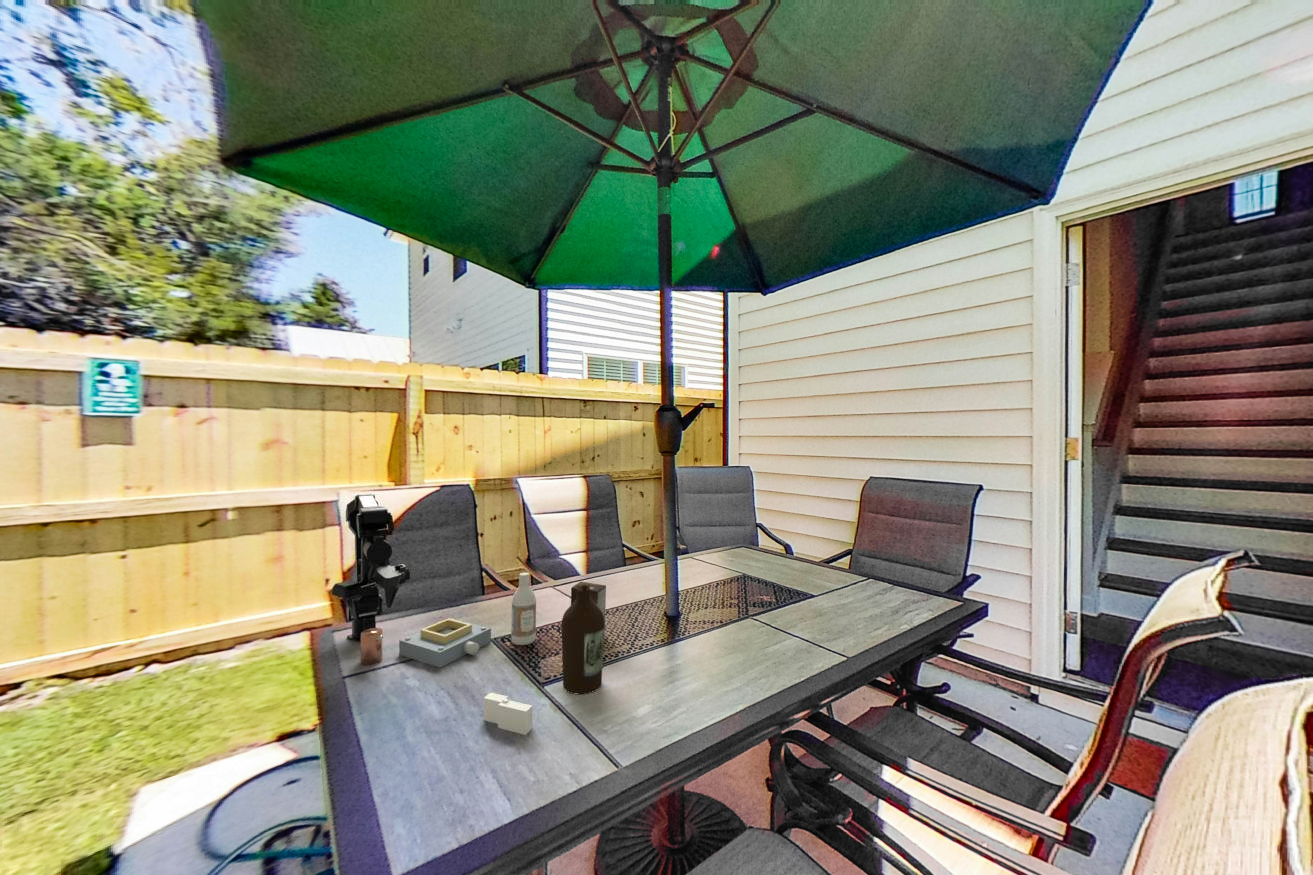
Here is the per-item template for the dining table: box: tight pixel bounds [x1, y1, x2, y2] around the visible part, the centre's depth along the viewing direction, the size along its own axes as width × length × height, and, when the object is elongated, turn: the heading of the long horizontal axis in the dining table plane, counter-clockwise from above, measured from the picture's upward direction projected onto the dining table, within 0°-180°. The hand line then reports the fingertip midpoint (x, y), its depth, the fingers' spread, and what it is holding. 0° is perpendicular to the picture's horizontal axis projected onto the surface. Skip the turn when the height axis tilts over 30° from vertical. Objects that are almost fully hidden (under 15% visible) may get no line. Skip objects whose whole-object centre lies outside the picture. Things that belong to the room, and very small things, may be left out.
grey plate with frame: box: [398, 617, 492, 668], centre depth 141 cm, size 19×18×6 cm
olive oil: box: [560, 581, 606, 695], centre depth 122 cm, size 11×11×25 cm
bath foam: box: [510, 572, 537, 646], centre depth 147 cm, size 7×7×20 cm
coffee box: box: [570, 581, 607, 638], centre depth 149 cm, size 9×6×16 cm
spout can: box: [360, 627, 384, 667], centre depth 133 cm, size 7×5×8 cm
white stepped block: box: [483, 692, 534, 736], centre depth 106 cm, size 15×11×6 cm
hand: (373, 613), depth 133 cm, fingers open, 9 cm apart
